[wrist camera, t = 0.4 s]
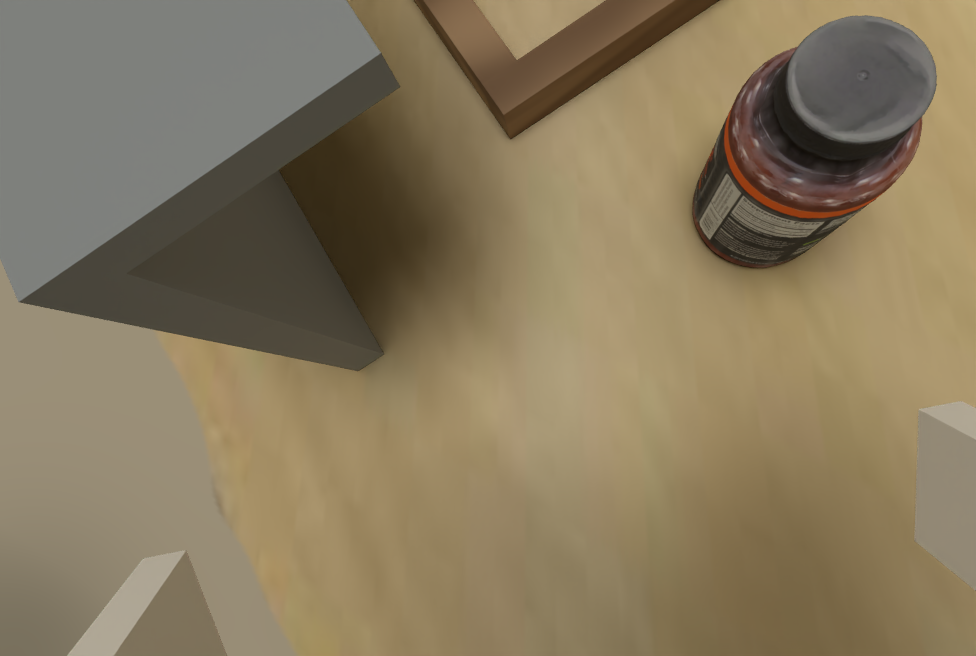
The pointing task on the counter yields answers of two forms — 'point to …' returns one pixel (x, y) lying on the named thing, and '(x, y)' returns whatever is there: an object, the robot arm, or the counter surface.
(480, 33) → the wooden frame
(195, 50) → the grey l-shaped bracket
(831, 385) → the counter surface
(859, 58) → the supplement bottle
